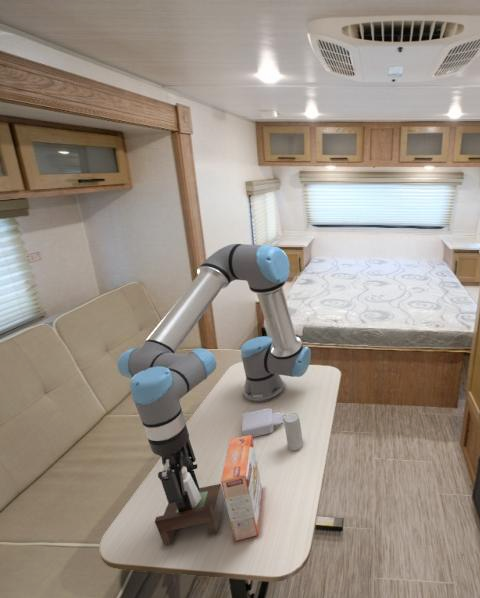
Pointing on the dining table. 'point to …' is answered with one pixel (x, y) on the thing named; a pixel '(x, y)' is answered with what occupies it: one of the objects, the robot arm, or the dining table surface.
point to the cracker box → (242, 487)
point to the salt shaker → (190, 488)
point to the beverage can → (293, 431)
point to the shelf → (193, 514)
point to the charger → (260, 422)
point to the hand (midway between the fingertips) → (190, 501)
